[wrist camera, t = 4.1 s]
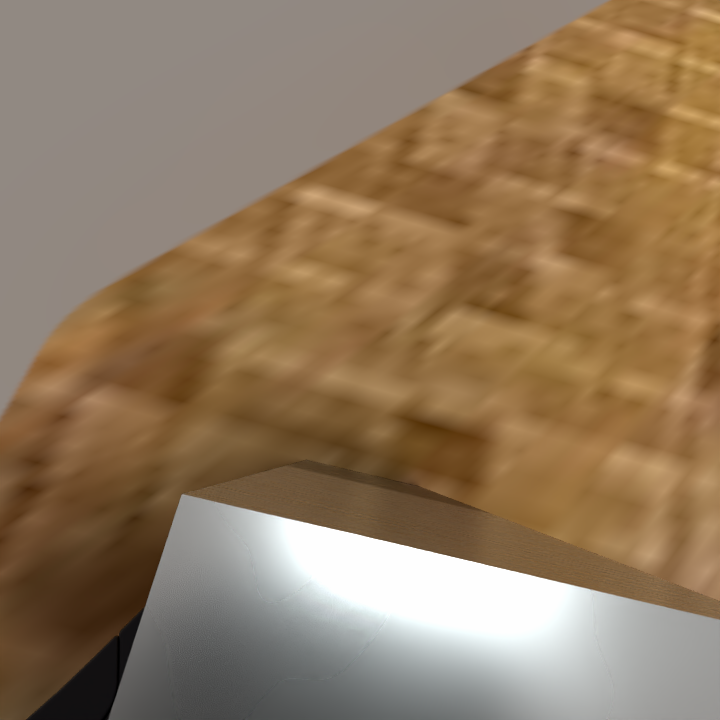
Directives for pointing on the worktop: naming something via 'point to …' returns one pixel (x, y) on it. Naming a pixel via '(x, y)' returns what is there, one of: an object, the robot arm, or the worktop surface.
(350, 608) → the silver metal block
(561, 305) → the worktop surface
